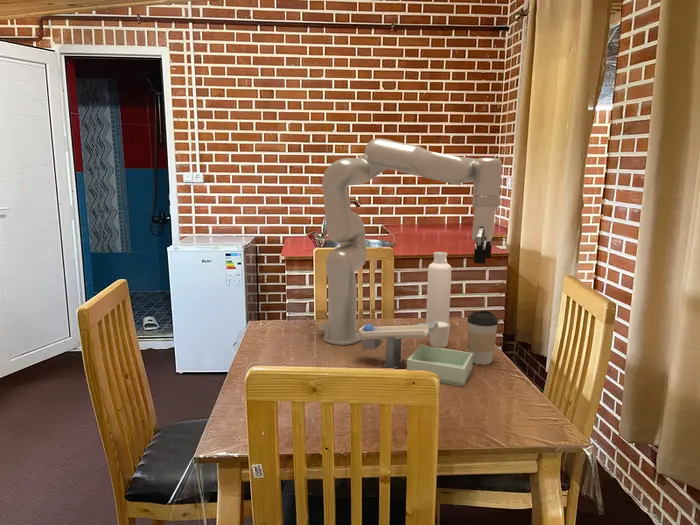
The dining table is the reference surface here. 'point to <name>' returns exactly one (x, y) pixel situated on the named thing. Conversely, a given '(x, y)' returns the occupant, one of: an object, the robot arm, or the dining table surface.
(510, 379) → the dining table surface
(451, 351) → the bin
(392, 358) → the lever stand
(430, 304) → the bottle
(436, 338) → the shot glass
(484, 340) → the coffee cup
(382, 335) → the lever
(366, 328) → the ball
